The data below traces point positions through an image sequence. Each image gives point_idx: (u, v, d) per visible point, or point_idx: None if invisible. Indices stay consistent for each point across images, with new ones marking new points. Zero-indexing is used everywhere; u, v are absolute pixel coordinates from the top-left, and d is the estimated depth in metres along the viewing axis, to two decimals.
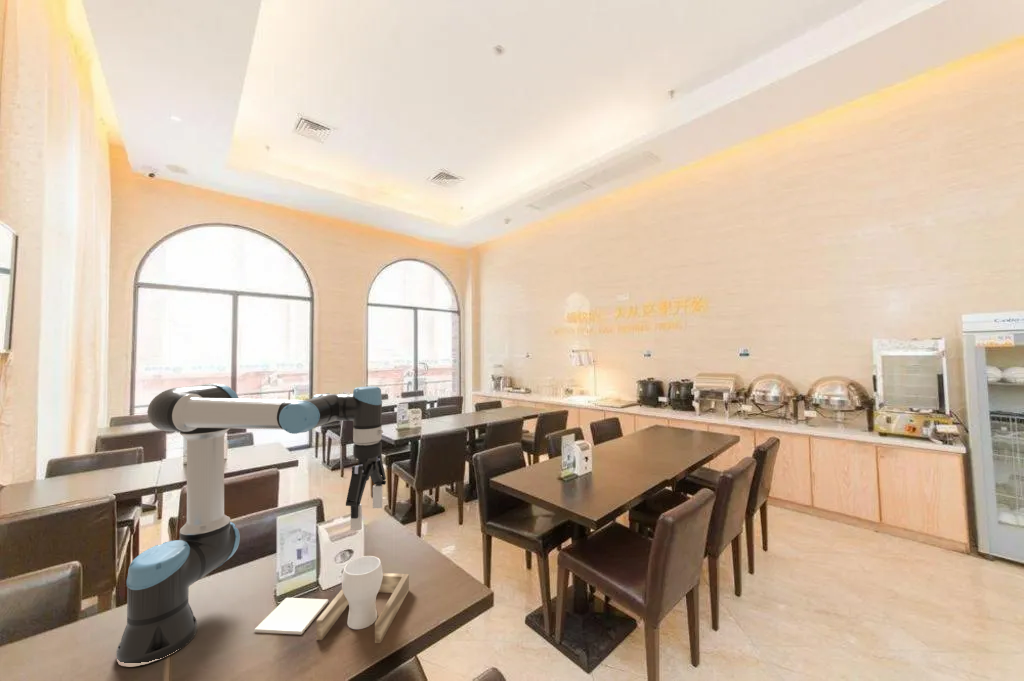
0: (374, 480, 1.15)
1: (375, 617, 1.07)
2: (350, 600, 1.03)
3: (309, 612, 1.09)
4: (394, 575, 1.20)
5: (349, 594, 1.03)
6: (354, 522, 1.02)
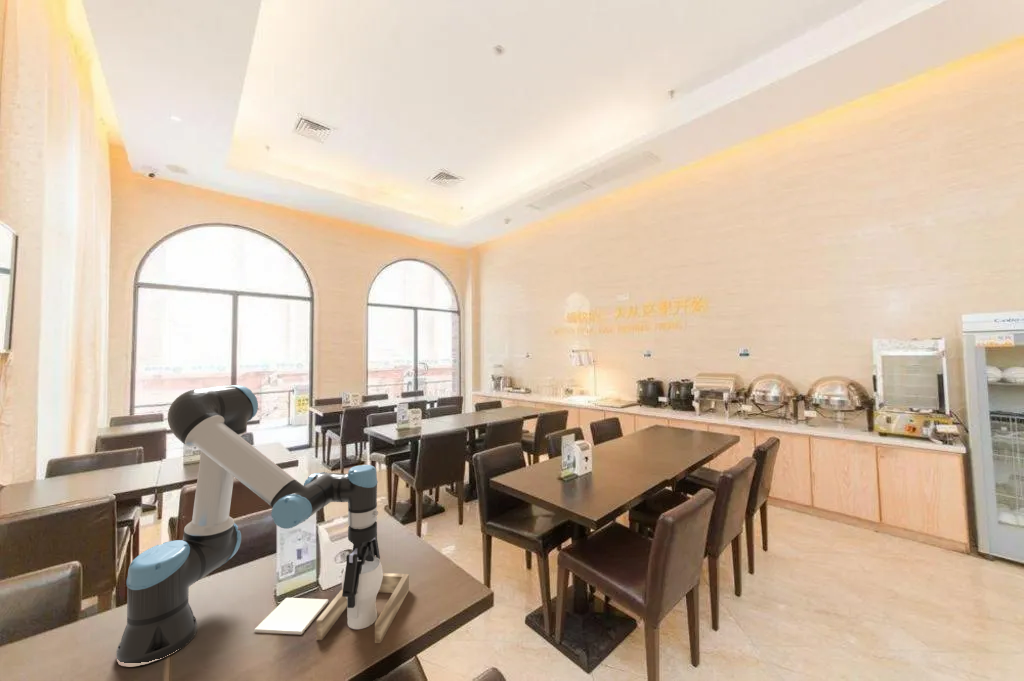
0: None
1: (375, 617, 1.07)
2: None
3: (309, 612, 1.09)
4: (394, 575, 1.20)
5: None
6: (351, 611, 1.02)
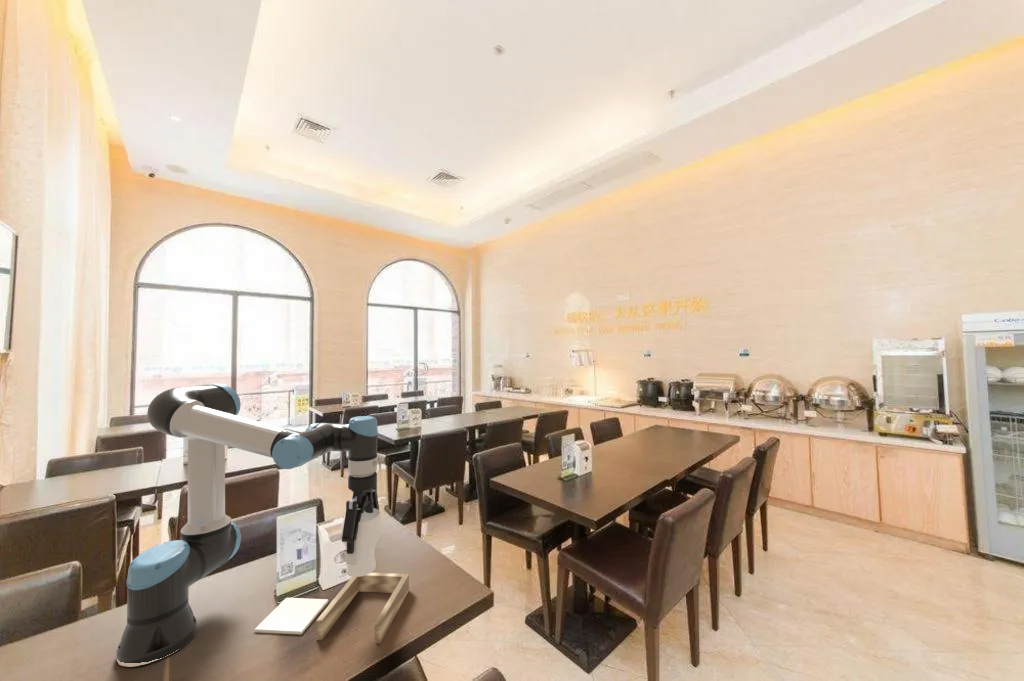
0: None
1: (374, 566, 1.07)
2: None
3: (309, 612, 1.09)
4: (394, 575, 1.20)
5: None
6: (350, 557, 1.02)
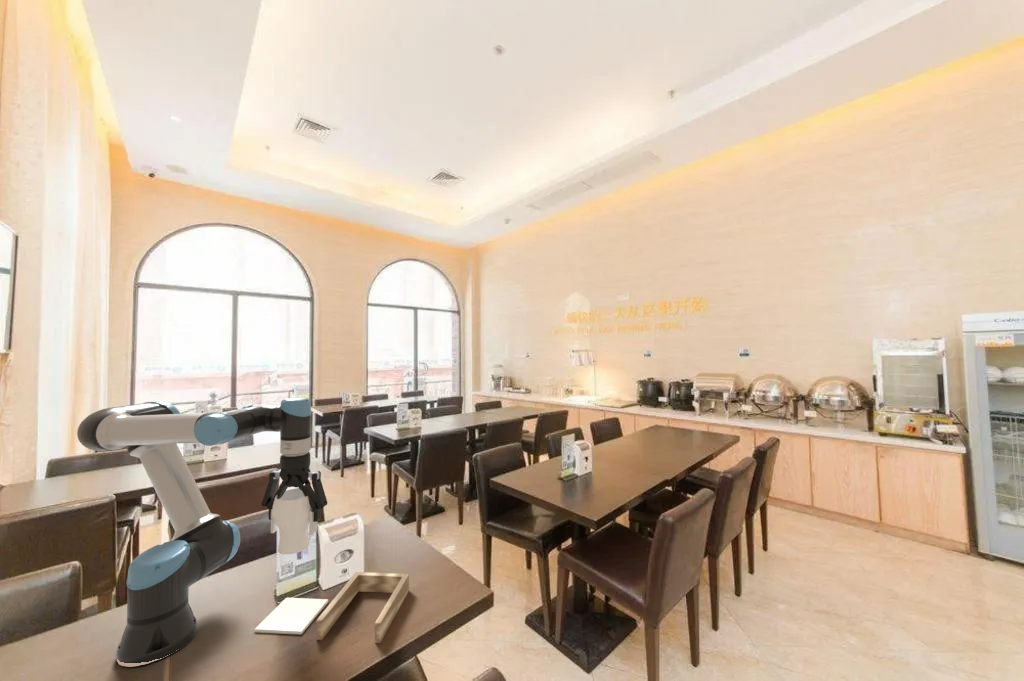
0: None
1: (284, 551, 1.06)
2: None
3: (309, 612, 1.09)
4: (394, 575, 1.20)
5: None
6: None
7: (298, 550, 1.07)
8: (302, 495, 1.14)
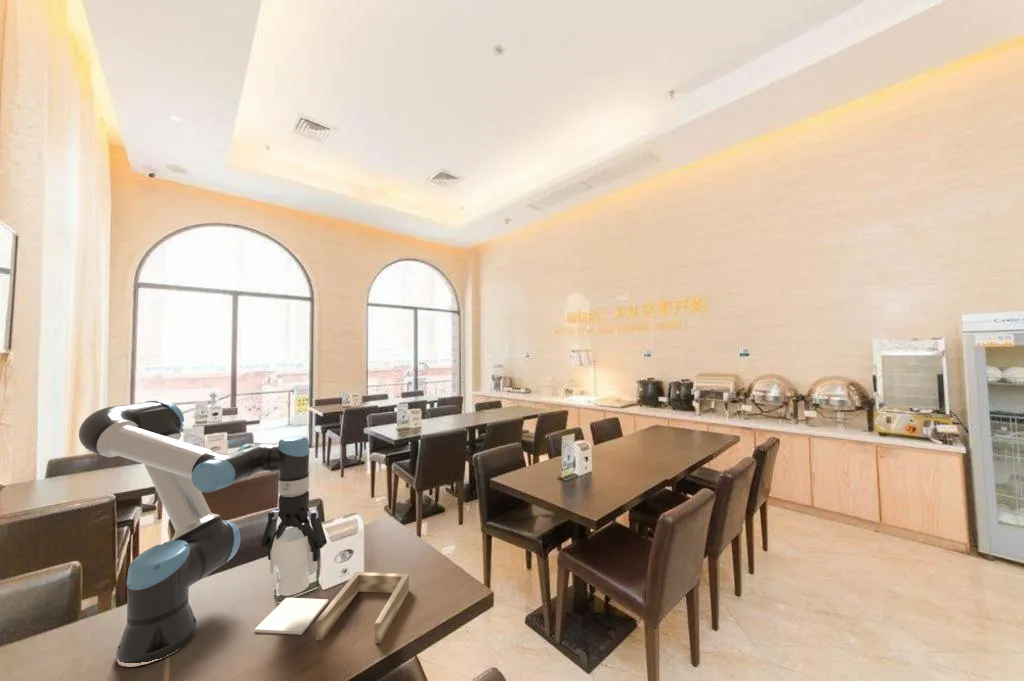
0: None
1: (284, 592, 1.05)
2: None
3: (309, 612, 1.09)
4: (394, 575, 1.20)
5: None
6: None
7: (298, 591, 1.06)
8: (301, 533, 1.14)
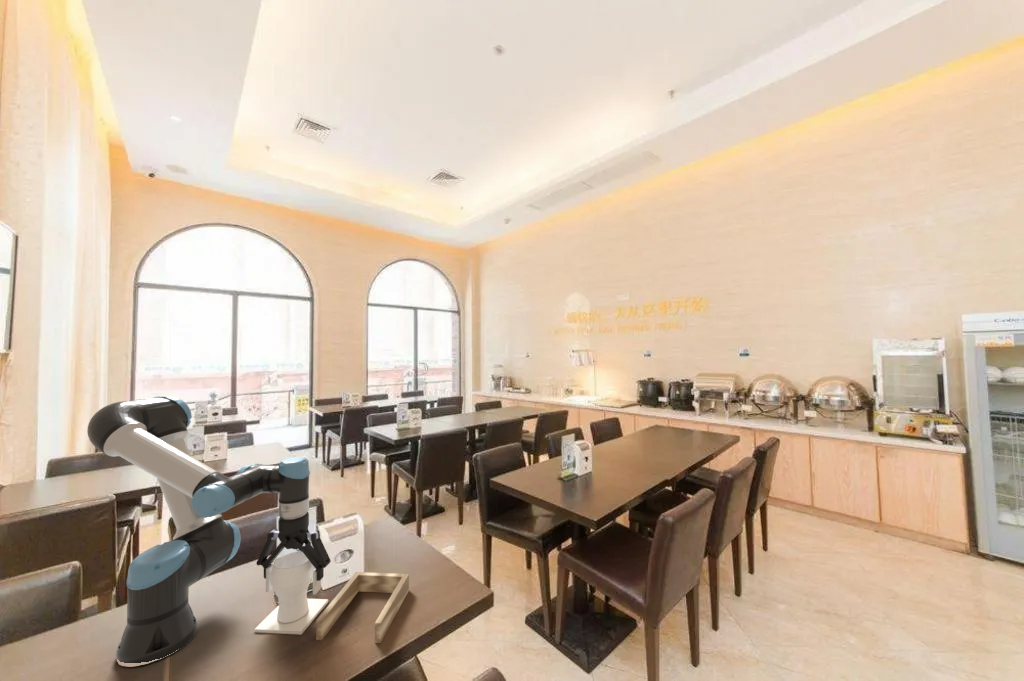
0: None
1: (283, 619, 1.05)
2: None
3: (309, 612, 1.09)
4: (394, 575, 1.20)
5: None
6: None
7: (297, 617, 1.06)
8: (300, 558, 1.14)
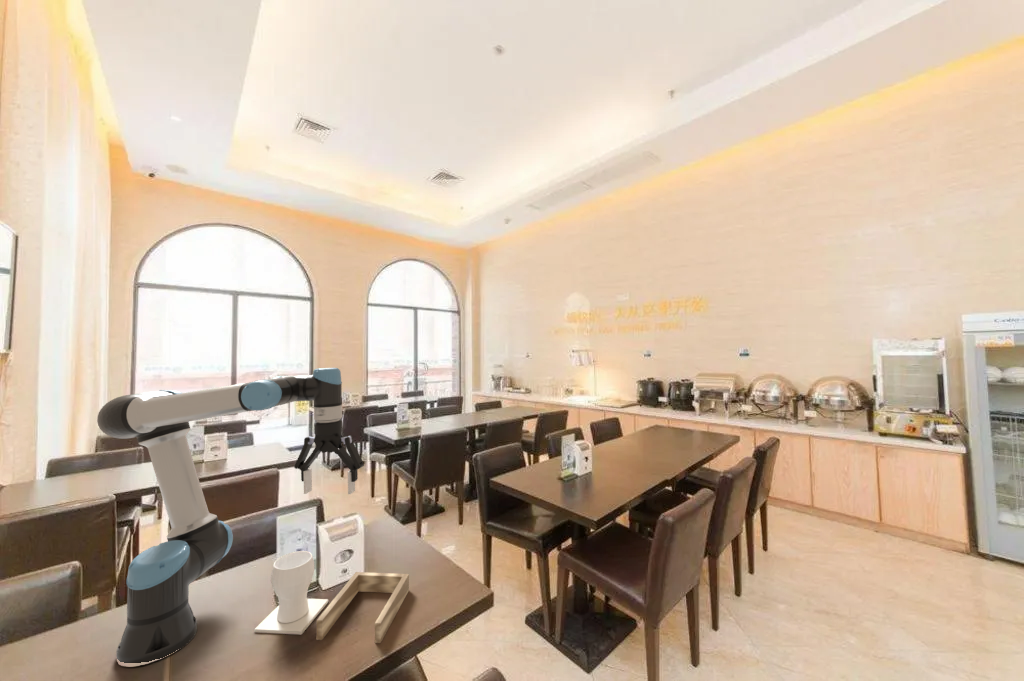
0: None
1: (283, 620, 1.05)
2: None
3: (309, 612, 1.09)
4: (394, 575, 1.20)
5: None
6: None
7: (297, 618, 1.06)
8: (301, 558, 1.14)
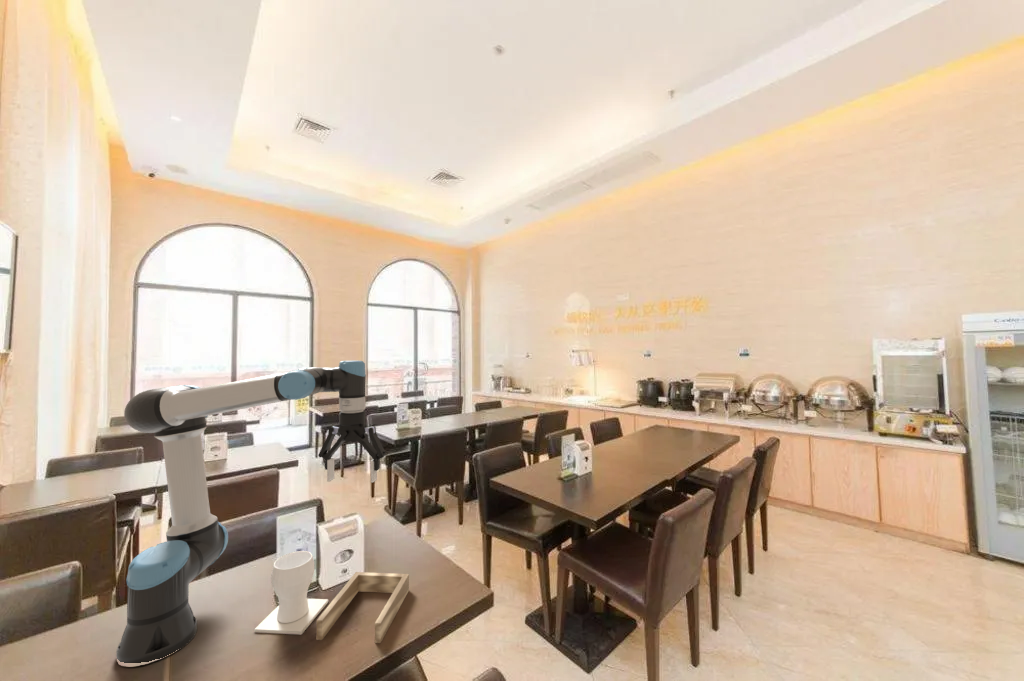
0: None
1: (283, 620, 1.05)
2: None
3: (309, 612, 1.09)
4: (394, 575, 1.20)
5: None
6: None
7: (297, 618, 1.06)
8: (301, 558, 1.14)
